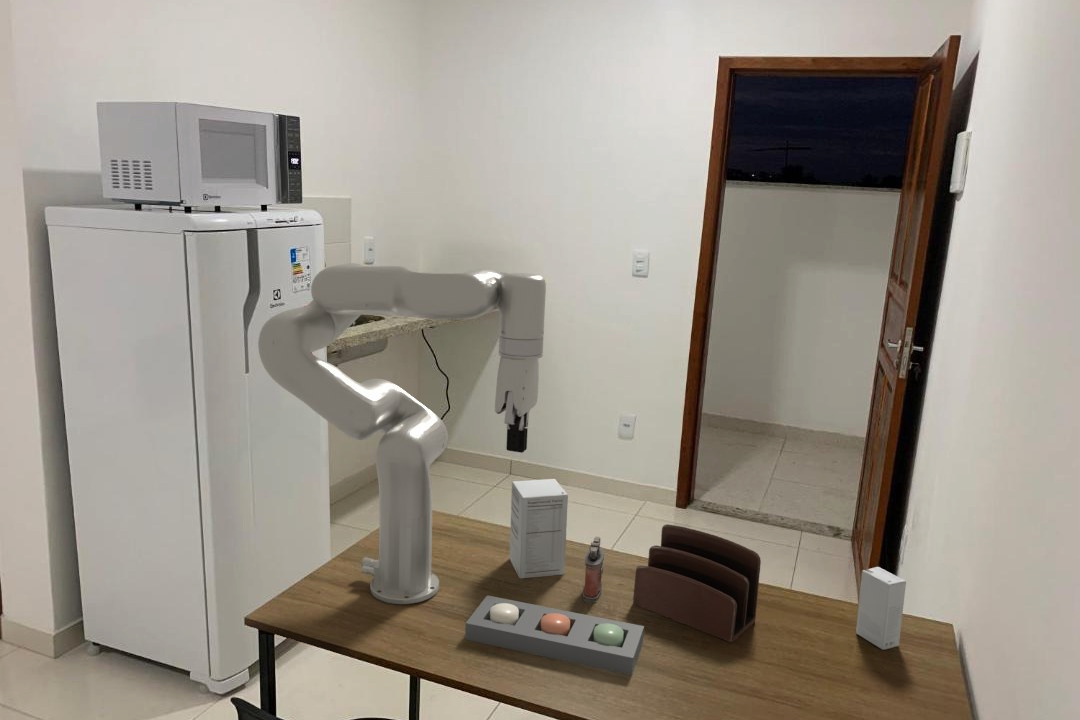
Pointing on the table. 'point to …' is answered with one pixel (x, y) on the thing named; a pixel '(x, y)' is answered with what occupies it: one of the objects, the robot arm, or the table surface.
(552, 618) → the terracotta button
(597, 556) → the lighter
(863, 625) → the skincare box
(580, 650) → the button panel
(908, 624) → the table surface
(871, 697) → the table surface
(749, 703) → the table surface
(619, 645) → the sage button
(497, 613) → the cream button
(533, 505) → the supplement box
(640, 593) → the letter holder
